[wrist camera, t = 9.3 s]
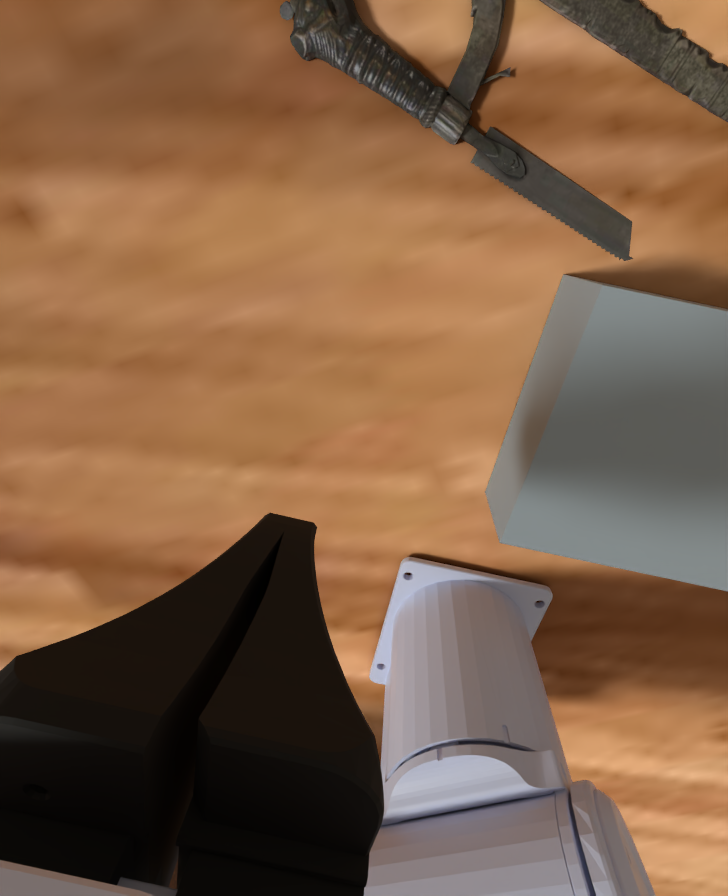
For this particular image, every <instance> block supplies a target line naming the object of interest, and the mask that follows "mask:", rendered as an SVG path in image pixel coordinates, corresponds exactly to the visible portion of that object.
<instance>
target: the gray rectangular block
mask: <svg viewBox="0 0 728 896" xmlns="http://www.w3.org/2000/svg"><path fill="white" fill-rule="evenodd" d="M485 493H486V496H487V500H488V503H489V507H490V510H491V514H492V517H493V521H494V524H495V528H496V531H497V535H498V538H499V542H500V543H503V544H508V545H512V546H517V547H522V548H526V549H531V550H536V551H540V552H545V553H550V554H555V555H559V556H564V557H569V558H573V559H578V560H583V561H587V562H592V563H597V564H601V565H606V566H611V567H616V568H620V569H625V570H630V571H634V572H639V573H644V574H648V575H653V576H658V577H663V578H667V579H672V580H677V581H681V582H686V583H691V584H695V585H700V586H705V587H709V588H714V589H719V590H724V591H728V309H725V308H720V307H716V306H711V305H706V304H702V303H697V302H692V301H687V300H683V299H678V298H673V297H668V296H664V295H659V294H654V293H650V292H645V291H640V290H635V289H631V288H626V287H621V286H616V285H612V284H607V283H602V282H597V281H593V280H588V279H583V278H579V277H574V276H569V275H564V274H563V277H562V280H561V282H560V285H559V288H558V291H557V294H556V296H555V299H554V302H553V305H552V307H551V310H550V313H549V316H548V319H547V321H546V324H545V327H544V330H543V333H542V335H541V338H540V341H539V344H538V346H537V349H536V352H535V355H534V358H533V360H532V363H531V366H530V369H529V371H528V374H527V377H526V380H525V383H524V385H523V388H522V391H521V394H520V397H519V399H518V402H517V405H516V408H515V410H514V413H513V416H512V419H511V422H510V424H509V427H508V430H507V433H506V435H505V438H504V441H503V444H502V447H501V449H500V452H499V455H498V458H497V461H496V463H495V466H494V469H493V472H492V474H491V477H490V480H489V483H488V486H487V488H486V491H485Z"/></svg>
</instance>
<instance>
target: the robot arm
mask: <svg viewBox="0 0 728 896" xmlns="http://www.w3.org/2000/svg"><path fill="white" fill-rule="evenodd" d="M316 529H317V527H316V525H315V524H314V523H313V522H308V521H304V520H300V519H295V518H291V517H286V516H282V515H277V514H273V513H269V514H267V515H265V516H264V517H263V518H262V519H261V520H260V521H259V522H258V523H257V524H256V525H255V526H254V527H253V528H252V529H251V530H250V531H249V532H248V533H247V534H246V535H244V536H243V537H242V538H241V539H240V540H239V541H237V542H236V543H235V544H234V545H233V546H231V547H230V548H229V549H228V550H227V551H225V552H224V553H223V554H222V555H220V556H219V557H218V558H217V559H215V560H214V561H212V562H211V563H210V564H208V565H207V566H206V567H204V568H203V569H201V570H200V571H199V572H197V573H196V574H194V575H193V576H192V577H190V578H189V579H187V580H186V581H184V582H182V583H181V584H179V585H178V586H176V587H174V588H173V589H171V590H169V591H168V592H166V593H164V594H163V595H161V596H159V597H157V598H155V599H154V600H152V601H150V602H148V603H146V604H144V605H143V606H141V607H139V608H137V609H135V610H133V611H131V612H129V613H127V614H125V615H123V616H121V617H119V618H116V619H114V620H112V621H110V622H107V623H105V624H103V625H100V626H98V627H96V628H93V629H91V630H89V631H86V632H84V633H81V634H79V635H76V636H73V637H71V638H68V639H65V640H62V641H60V642H57V643H54V644H51V645H48V646H45V647H42V648H40V649H37V650H34V651H31V652H28V653H25V654H22V655H19V656H16V657H15V658H14V659H13V660H12V661H11V662H10V663H9V664H8V665H7V666H6V667H4V668H3V669H2V670H1V671H0V896H656V895H655V892H654V890H653V887H652V885H651V882H650V880H649V877H648V875H647V873H646V870H645V868H644V865H643V863H642V860H641V858H640V856H639V853H638V851H637V849H636V846H635V844H634V842H633V839H632V837H631V835H630V832H629V830H628V828H627V826H626V824H625V822H624V819H623V817H622V815H621V813H620V811H619V809H618V807H617V806H616V804H615V802H614V801H613V800H612V799H611V798H610V797H609V796H607V795H606V794H605V793H603V792H602V791H600V790H598V789H596V787H595V786H594V784H593V783H592V782H590V781H589V780H581V781H577V782H573V781H572V780H571V776H570V773H569V769H568V766H567V763H566V759H565V756H564V752H563V749H562V746H561V742H560V739H559V735H558V732H557V729H556V725H555V722H554V718H553V715H552V712H551V708H550V705H549V701H548V698H547V694H546V691H545V688H544V684H543V681H542V677H541V674H540V671H539V667H538V664H537V660H536V657H535V654H534V650H533V647H532V643H531V641H532V639H533V636H534V634H535V632H536V630H537V628H538V626H539V624H540V622H541V620H542V618H543V616H544V614H545V612H546V610H547V608H548V606H549V604H550V602H551V600H552V597H553V595H552V592H551V589H550V588H549V587H548V586H545V585H541V584H536V583H531V582H527V581H522V580H517V579H513V578H508V577H503V576H499V575H494V574H489V573H485V572H480V571H475V570H470V569H466V568H461V567H456V566H452V565H447V564H442V563H438V562H433V561H428V560H424V559H419V558H414V557H407V558H405V559H403V560H402V562H401V564H400V568H399V571H398V575H397V578H396V582H395V585H394V589H393V592H392V596H391V599H390V603H389V606H388V610H387V613H386V617H385V620H384V624H383V627H382V631H381V634H380V638H379V641H378V645H377V648H376V652H375V655H374V659H373V662H372V666H371V669H370V679H371V680H372V681H373V682H375V683H379V684H383V685H385V700H384V717H383V735H382V752H381V767H380V761H379V755H378V750H377V745H376V740H375V736H374V734H373V732H372V730H371V729H370V727H369V725H368V723H367V722H366V720H365V718H364V716H363V714H362V712H361V710H360V708H359V706H358V705H357V703H356V700H355V698H354V696H353V694H352V692H351V690H350V688H349V686H348V684H347V681H346V679H345V676H344V674H343V671H342V669H341V666H340V664H339V661H338V659H337V656H336V654H335V651H334V649H333V645H332V642H331V639H330V636H329V633H328V630H327V626H326V623H325V619H324V615H323V611H322V607H321V602H320V597H319V592H318V586H317V580H316V571H315V561H314V539H315V534H316ZM406 572H410V573H412V574H411V575H406V574H404V573H406ZM536 601H541V602H539V603H536ZM177 860H178V870H177V889H173V888H169V885H170V882H171V879H172V876H173V872H174V869H175V866H176V863H177Z"/></svg>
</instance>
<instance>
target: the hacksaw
mask: <svg viewBox="0 0 728 896" xmlns="http://www.w3.org/2000/svg"><path fill="white" fill-rule="evenodd" d="M540 1H541V2H543V3H544V4H545V5H547V6H548V7H550V8H551V9H553V10H554V11H556V12H557V13H559V14H561V15H562V16H564V17H565V18H567V19H568V20H570V21H571V22H573V23H575V24H576V25H578V26H580V27H581V28H583V29H585V30H586V31H587V32H588V33H589V34H590V35H592V36H593V37H594V38H596V39H597V40H599V41H601V42H602V43H604V44H606V45H607V46H609V47H610V48H611V49H613V50H615V51H616V52H618V53H619V54H621V55H622V56H625V57H626V58H628V59H629V60H631V61H632V62H634V63H635V64H637V65H638V66H640V67H641V68H643V69H644V70H646V71H647V72H649V73H650V74H652V75H653V76H655V77H656V78H658V79H660V80H661V81H663V82H664V83H666V84H668V85H670V86H671V87H672V88H674V89H675V90H676V91H678V92H680V93H682V94H683V95H686V96H688V97H689V99H690V100H692V101H694V102H696V103H698V104H699V105H701V106H702V107H704V108H705V109H707V110H708V111H709V112H711V113H713V114H714V115H716V116H718V117H720V118H721V119H723V120H725V121H727V122H728V68H727V67H726V66H725V65H724V64H723V63H716V62H715V61H713V60H712V59H710V58H709V53H708V52H707V51H706V50H705V49H703V48H701V47H699V46H698V45H696V44H695V43H693V42H691V41H690V40H688V39H687V38H685V37H683V36H682V30H681V29H679V28H676V29H669V28H668V27H666V26H665V25H663V24H662V23H661V22H660V20H659V19H658V17H657V16H656V14H655V13H653V12H651V10H648V9H646V8H645V7H644V6H643V5H642V4H641V3H640V1H639V0H540ZM505 2H506V0H472V11H471V17H474V20H473V29H472V32H471V36H470V39H469V42H468V46H467V49H466V52H465V54H464V56H463V58H462V60H461V62H460V65H459V67H458V69H457V71H456V73H455V75H454V77H453V80H452V82H451V84H450V86H449V88H448V90H447V91H446V90H445V88H442V87H438V86H435V85H434V84H433V83H432V82H431V81H430V79H429V78H427V77H425V76H424V75H423V74H422V73H421V72H420V71H419V70H417V69H416V68H414V67H413V66H412V64H411V62H409V61H406V60H405V59H404V58H403V57H401V56H400V55H399V54H398V53H397V52H395V51H393V50H392V49H391V47H390V46H389V45H388V44H387V43H386V42H385V41H384V40H383V39H382V38H381V37H379V36H378V35H375V34H373V32H372V31H371V30H370V29H369V28H368V27H367V26H366V25H365V24H364V23H363V22H362V20H361V18H360V16H359V15H358V13H357V11H356V8H355V4H354V1H353V0H291V1H290V2H288V1H286V2H284V3H283V4H282V5H281V6H280V14H281V17H282V18H283V19H286V20H289V19H291V18H292V17H293V14H294V13H295V15H294V29H293V32H292V34H291V36H290V39H291V43H292V45H293V46H294V47H295V50H296V51H297V52H298V54H299V55H300V56H301V57H302V58H303V59H305V60H307V61H309V60H312V59H314V58H319V59H321V60H323V61H325V62H327V63H329V64H330V65H331V66H333V67H335V68H337V69H340V70H341V71H343V72H345V73H346V74H347V75H349V76H350V77H352V78H355V79H356V80H357V81H358V82H359V84H364V85H365V86H367V87H368V88H370V89H371V90H373V91H375V92H376V93H378V94H380V95H381V96H382V97H385V98H386V99H388V100H389V101H391V102H392V103H394V104H395V105H397V106H399V107H400V108H402V109H403V110H405V111H406V112H407V113H409V114H410V115H411V116H413V117H415V118H417V119H419V121H420V123H421V125H422V126H423V127H425V128H429V127H431V128H432V130H433V131H434V132H435V133H436V134H438V135H439V136H441V137H442V138H443V139H445V140H446V141H447V142H449V143H450V144H456V143H457V141H458V139H459V138H461V139H462V140H464V141H466V142H467V143H469V144H470V145H472V146H474V147H475V148H476V149H477V152H476V154H475V156H474V157H473V159H472V161H471V163H474V164H475V166H479V167H480V169H483V170H484V171H485V173H489V174H490V176H494V178H495V179H499V181H500V182H504V185H508V186H509V188H513V190H514V191H515V192H518V194H519V195H521V194H522V195H523V197H524V198H528V201H532V202H533V204H537V206H538V207H542V210H546V211H547V213H551V216H555V217H556V219H560V221H561V222H565V225H569V226H570V228H574V230H575V231H578V232H579V234H583V236H584V237H587V238H588V240H592V242H593V243H596V244H597V246H601V248H602V249H605V250H606V251H608V252H609V251H610V254H614V255H615V257H619V260H620V259H621V258H622V259H623V260H624V261H626V260H630V259H633V258H632V257H629V251H630V240H631V229H632V221H630V220H629V219H627V218H626V217H624V216H623V215H621V214H620V213H618V212H617V211H615V210H614V209H612V208H611V207H609V206H608V205H606V204H605V203H603V202H602V201H600V200H599V199H598V198H596V197H595V196H593V195H592V194H590V193H589V192H587V191H586V190H584V189H583V188H581V187H580V186H578V185H577V184H575V183H574V182H572V181H571V180H569V179H568V178H566V177H565V176H563V175H562V174H560V173H559V172H557V171H556V170H554V169H553V168H551V167H550V166H548V165H547V164H546V163H544V162H543V161H541V160H540V159H538V158H537V157H535V156H534V155H532V154H531V153H529V152H528V151H526V150H525V149H523V148H522V147H520V146H519V145H517V144H516V143H514V142H513V141H511V140H510V139H508V138H507V137H505V136H504V135H502V134H501V133H499V132H498V131H496V130H495V129H494V128H492V127H490V128H489V130H488V132H487V133H486V135H485V136H483V135H481V134H480V133H479V132H478V131H477V130H476V129H475V128H474V127H472V126H471V125H470V124H469V123H468V121H469V119H470V117H471V115H472V111H471V110H470V105H471V103H472V101H473V99H474V97H475V95H476V93H477V91H478V89H479V86H481V85H483V84H484V83H486V82H488V81H490V80H492V79H494V78H496V77H498V76H507V77H510V68H508V69H506V70H504V71H501V72H499V73H497V74H495V75H493V76H491V77H489V78H487V79H484V77H485V74H486V72H487V69H488V67H489V65H490V62H491V60H492V58H493V56H494V53H495V51H496V49H497V46H498V44H499V38H500V33H501V28H502V22H503V17H504V10H505ZM483 79H484V80H483Z"/></svg>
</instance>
